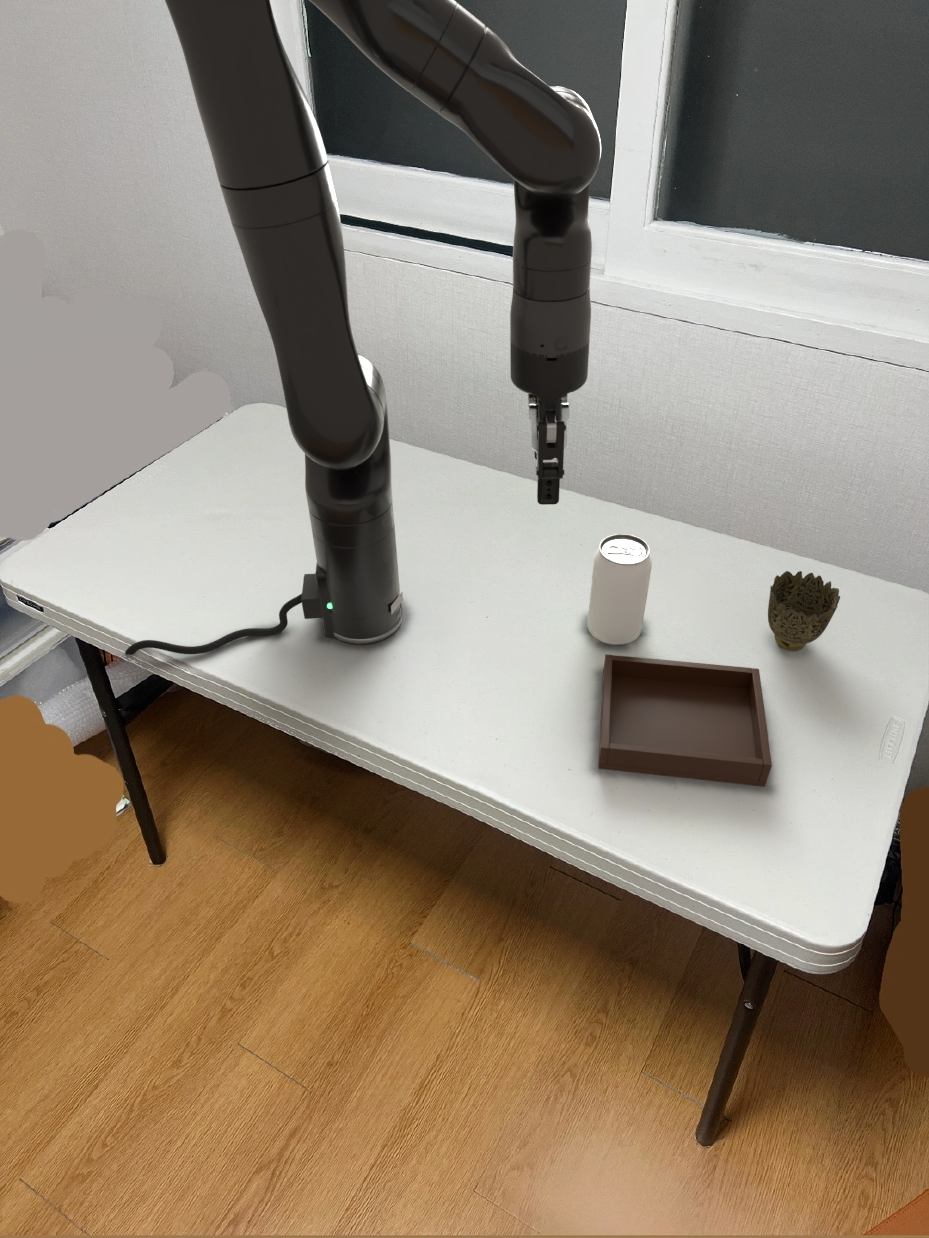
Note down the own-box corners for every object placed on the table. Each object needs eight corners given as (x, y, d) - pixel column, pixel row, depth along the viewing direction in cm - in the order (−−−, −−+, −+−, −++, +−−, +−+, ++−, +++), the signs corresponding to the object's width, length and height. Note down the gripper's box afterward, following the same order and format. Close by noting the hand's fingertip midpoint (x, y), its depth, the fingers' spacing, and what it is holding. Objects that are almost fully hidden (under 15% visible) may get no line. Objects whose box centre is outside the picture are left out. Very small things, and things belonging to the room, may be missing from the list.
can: (639, 650, 104) (652, 569, 96) (584, 643, 105) (592, 563, 97) (642, 614, 109) (655, 534, 101) (589, 608, 110) (597, 528, 102)
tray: (598, 768, 91) (600, 747, 89) (602, 675, 101) (605, 654, 99) (765, 786, 89) (772, 765, 87) (753, 689, 99) (759, 668, 97)
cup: (811, 673, 101) (830, 621, 96) (748, 650, 104) (762, 598, 98) (829, 635, 106) (848, 583, 100) (768, 614, 108) (783, 562, 103)
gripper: (509, 305, 90) (510, 446, 101) (511, 369, 79) (511, 519, 90) (584, 303, 90) (576, 444, 100) (596, 367, 79) (586, 518, 90)
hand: (546, 480), depth 95 cm, fingers open, 8 cm apart
